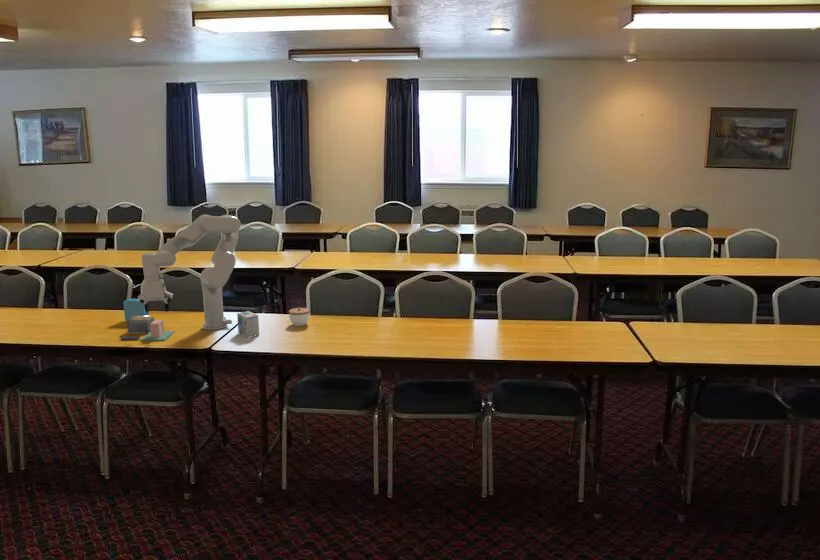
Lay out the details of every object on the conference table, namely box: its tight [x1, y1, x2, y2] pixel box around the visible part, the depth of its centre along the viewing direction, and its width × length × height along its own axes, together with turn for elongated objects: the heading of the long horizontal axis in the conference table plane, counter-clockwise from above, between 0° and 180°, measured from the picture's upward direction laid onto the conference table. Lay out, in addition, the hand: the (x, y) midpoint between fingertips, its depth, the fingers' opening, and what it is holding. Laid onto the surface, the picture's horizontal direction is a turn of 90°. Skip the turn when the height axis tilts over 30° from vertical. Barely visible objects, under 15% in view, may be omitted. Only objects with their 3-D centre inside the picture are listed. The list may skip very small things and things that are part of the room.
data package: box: [122, 298, 150, 322], centre depth 357 cm, size 12×4×12 cm, turn 79°
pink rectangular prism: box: [150, 319, 165, 337], centre depth 328 cm, size 4×7×7 cm, turn 1°
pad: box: [139, 330, 175, 342], centre depth 329 cm, size 12×14×1 cm
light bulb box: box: [236, 310, 260, 338], centre depth 331 cm, size 11×7×11 cm, turn 40°
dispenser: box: [120, 315, 155, 341], centre depth 334 cm, size 10×20×8 cm, turn 1°
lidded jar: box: [288, 306, 310, 327], centre depth 348 cm, size 11×11×9 cm
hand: (157, 311), depth 327 cm, fingers open, 9 cm apart
